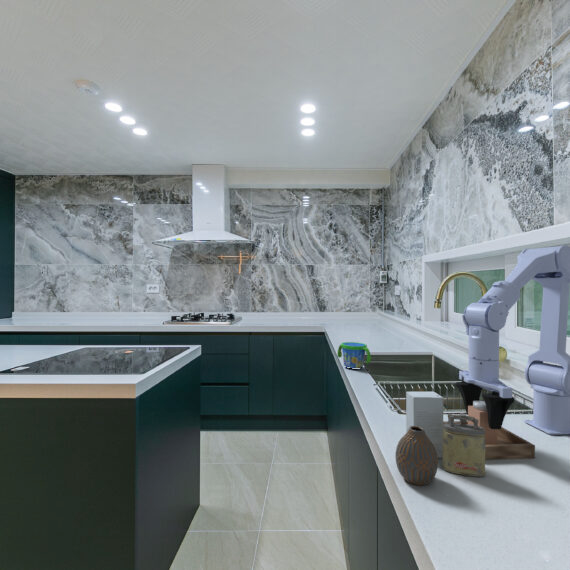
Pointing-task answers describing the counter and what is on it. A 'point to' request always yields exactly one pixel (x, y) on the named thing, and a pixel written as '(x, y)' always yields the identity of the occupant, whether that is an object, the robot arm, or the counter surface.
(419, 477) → the vase
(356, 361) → the snack cup
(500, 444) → the tray
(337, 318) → the counter surface
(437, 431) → the skincare box
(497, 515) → the counter surface
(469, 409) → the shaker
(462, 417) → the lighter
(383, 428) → the counter surface
